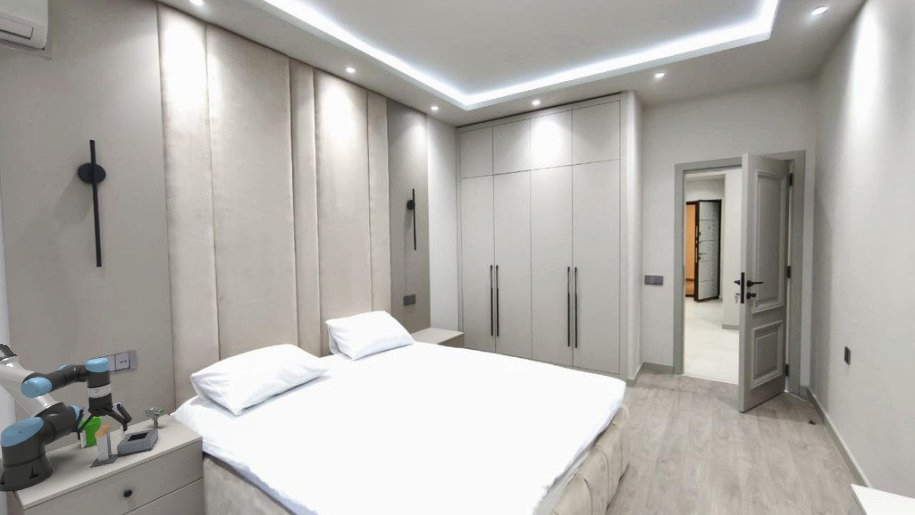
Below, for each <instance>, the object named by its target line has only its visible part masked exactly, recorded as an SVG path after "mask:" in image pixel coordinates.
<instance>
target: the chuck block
mask: <svg viewBox="0 0 915 515" xmlns="http://www.w3.org/2000/svg"><path fill="white" fill-rule="evenodd" d="M125 436H126V437H125V439H124V440H120V442H119V443H118V444H117V445H116V451H117V452H116V454H118V458H120V457H124V456H129V455H134V454H139V453H144V452H149V451H152V450H153V448H154V446H155V445H154V444H156V443H157V441H158V439H159V429H158V427H157V428H151V429H146V430H139V431H135V432H130V433H125Z"/></svg>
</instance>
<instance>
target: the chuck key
mask: <svg viewBox="0 0 915 515" xmlns="http://www.w3.org/2000/svg"><path fill="white" fill-rule="evenodd" d="M110 432H111V423H110V424H104V425H103V424H102V425H101V426H100V429H99V430H98V431H97V432H96V433H95V438H96V441H97V444H96V447H97V448H96V452H97V458H98V463H101V462H106V461H109V460H110V459H111V457H112V442H111V441H112V440H111V433H110Z"/></svg>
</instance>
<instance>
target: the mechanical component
mask: <svg viewBox="0 0 915 515" xmlns="http://www.w3.org/2000/svg"><path fill="white" fill-rule="evenodd" d="M144 413H145V416H146V417H150V418H152V419H151V420H152V421H153V429H156V428H158V427H159V423H158V421H159V420H158V419H159V418H160V417H162V416H164V415H165V409H164V408H160V409H159V407H154V406H153V407H151V406H150V407H147V408H145V409H144Z"/></svg>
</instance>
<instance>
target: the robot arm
mask: <svg viewBox="0 0 915 515" xmlns="http://www.w3.org/2000/svg"><path fill="white" fill-rule="evenodd" d="M19 357H20V356H19ZM19 357H18V356H17V355H16V354H14V353H13V352H12V351H11V350H10V348H9V347H8V346H7V345H3V344H0V386H1V387H2V388H3V389H4V390H5V391H6V392H7V393H8V394H9V395H10V396H11V397H12V399H14V400H15V401H16V402H17V403H18V404H19V406H20V407H22V409H24V411H25V412H26V413H27V414H28V415H29V416H30V417H29V418H25V419H23V420H19V421H16V422H14V423H11V424H10V425H8V426H6V427H5V428H4V429H3V430H2V431H1V433H0V448H1V456H2V464H3V467H2V471H1V474H0V492H3V493H5V492H15V491H18V490H23V489H25V488H29V487H31V486H35V485H37V484H39V483H41V482H43V481H45V480H47V479H49V477H51V476H52V475H53V473H54V472H55V471H54V464H52V462H51V461H50V459H49V458H48V456H47V454H46V453H47V451H46V446H48V445H50V444H52V443H54V442H56V441H58V440H60V439H62V438H64V437H66V436H69V435H70V434H73V433H76V435H77V440H78V441H80V448H82V449H83V448H85V446H86V434H85V430H83V429H84V427H85V426H86V425H87V424H88V423H89V422H90V421H91V419H92V418H94V417H106V416H108V417H111V418H113V419H114V420H115V421H116V422H118V423H120V425H119V426H120V427H119V429H120V439H121V440H124V439H125V437H126V436H125V435H126V432H127V431H128V429H129V427H128V423H131V422H132V420H133V417H132V416H131V415H130V413H129V412H128V411H127V410H126V408H125V407H124V405H123V403H122V401H118V402H117V403H114V402H113V394H112V383H111V366H110V361H109V359H108V358H106V357H100V358H94V359H93V358H92V359H90V360H87V361H85V364H84V363H82V364H80V363H79V364H76V363H73V364H64V365H61V366H60V367H59V368H58V369H57V370H53V371H52V372H51V371H50V372H48V373H42V372H38V371H33V370H30V369H25V368H24V367H23V366H22V365H21V364H20V362H18V361H20V360H19ZM77 383H86V388H87V396H88V401H87V402H88V407H87V408H86V407H82V408H79V406H78V405H73V404H71V405H70V404H69V405H66V403H65V402H63V401H57V400H55V399H54V398H53V397H52V396H51V395H50V394H49V393H52V392H54V391H58V390H60V389H62V388H63V389H64V388H65V387H68V386H70V385H73V384H77ZM113 408H115V409H117V411H118V412H119V413H117V412H116V411H115V410H114V409H113ZM87 413H89V414H90V415H89V416H88V418H86V419H87V420H86V419H85V420H86V421H85V422H84V424H83V425H82V426H81V427H80V425H81V423H82V421H83V418H84V416H85V415H86V414H87ZM120 414H121V415H120ZM79 427H80V428H79ZM82 430H83V431H82ZM121 440H120V441H121Z"/></svg>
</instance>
